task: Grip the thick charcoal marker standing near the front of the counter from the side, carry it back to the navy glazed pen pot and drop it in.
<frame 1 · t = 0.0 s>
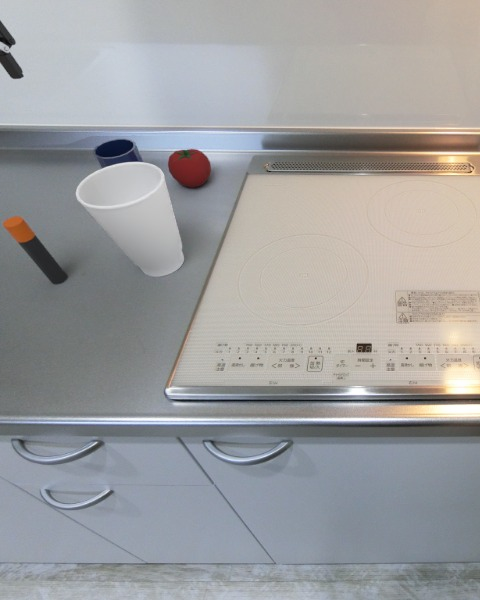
marker: (59, 279, 72), on the counter
pen pot: (132, 183, 91), on the counter
tomato: (195, 182, 92), on the counter
cup: (163, 263, 75), on the counter
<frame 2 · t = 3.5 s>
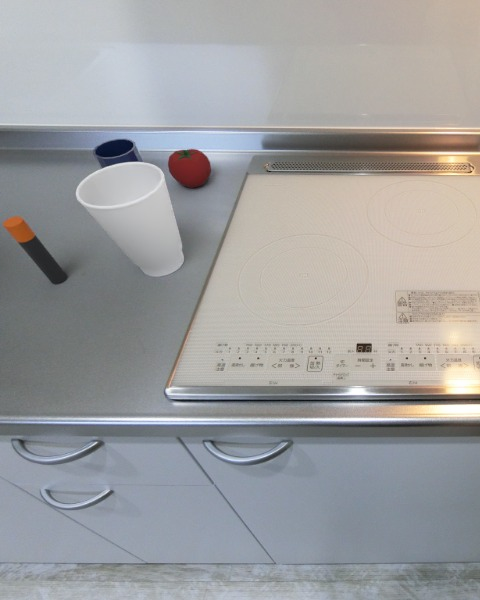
nothing on the counter moved.
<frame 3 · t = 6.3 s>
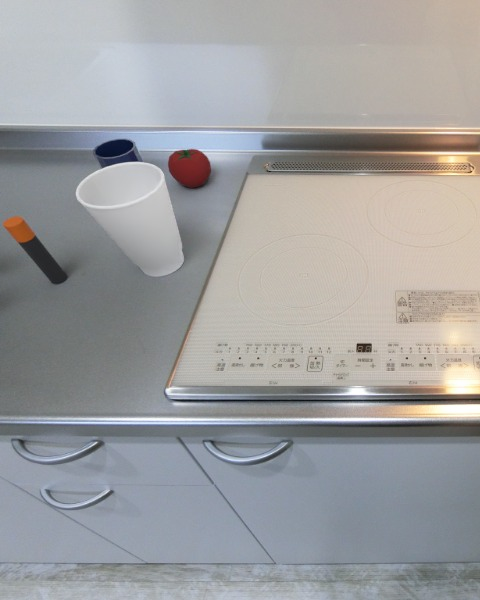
nothing on the counter moved.
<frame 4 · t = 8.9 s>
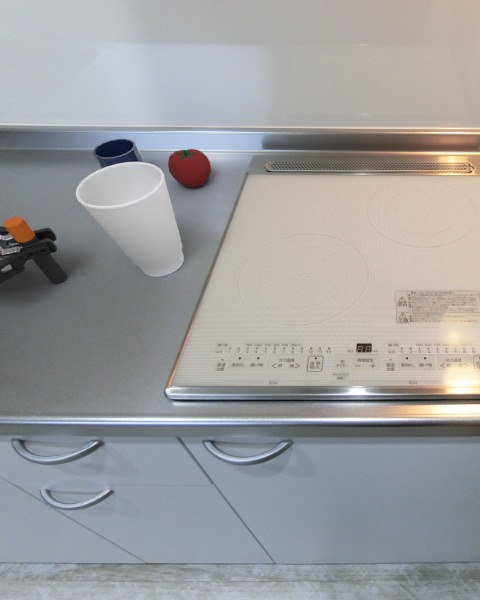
hand: (53, 239, 68), 7 cm above the counter, tool horizontal, fingers closed on marker, 2 cm apart
marker: (59, 279, 72), on the counter, touching gripper
everything else where it was.
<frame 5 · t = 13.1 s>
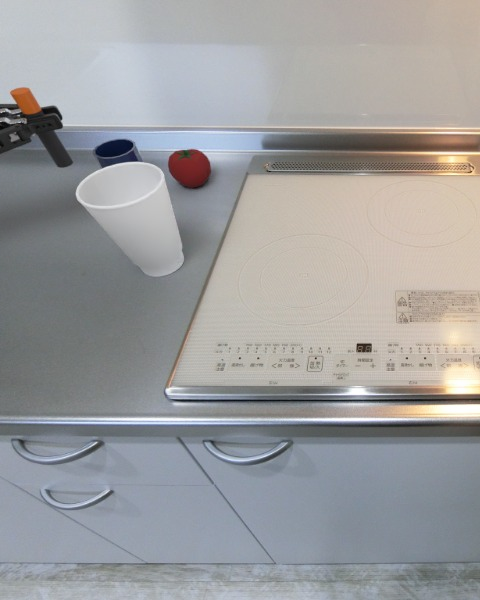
hand: (59, 116, 68), 20 cm above the counter, tool horizontal, fingers closed on marker, 2 cm apart
marker: (65, 163, 73), point 12 cm above the counter, touching gripper
everything else where it was.
when the fingers open (13 cm above the counter, at t = 17.1 s): marker drops 5 cm, resting on pen pot.
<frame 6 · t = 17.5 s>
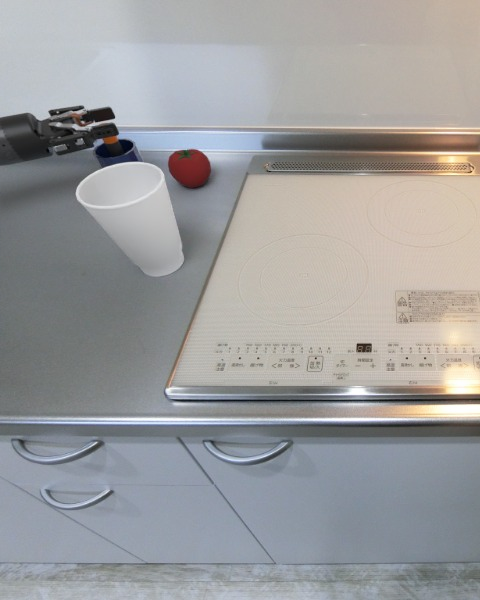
hand: (114, 120, 82), 13 cm above the counter, tool horizontal, fingers open, 6 cm apart
marker: (131, 180, 91), point 1 cm above the counter, touching pen pot
everything else where it was.
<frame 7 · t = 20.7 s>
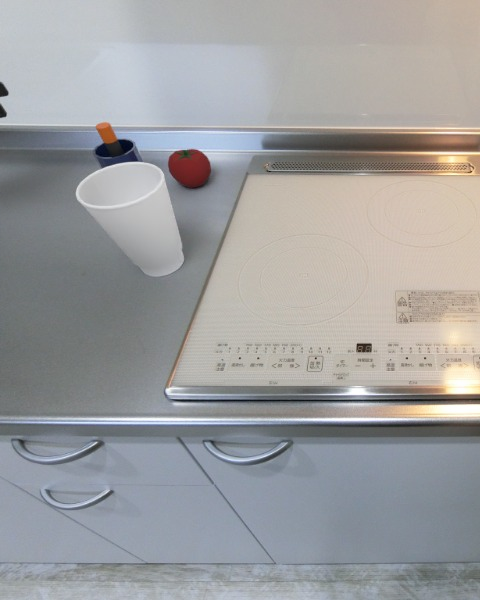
hand: (4, 98, 72), 20 cm above the counter, tool horizontal, fingers open, 8 cm apart
nothing on the counter moved.
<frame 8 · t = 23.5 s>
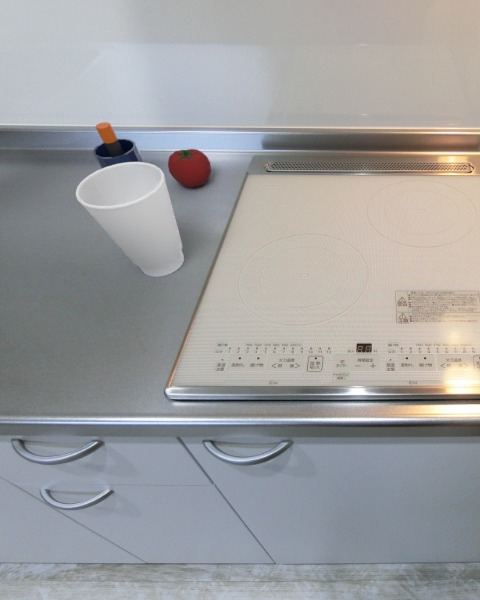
nothing on the counter moved.
at the end: marker 0.1 cm off-centre in the pen pot, point 0.6 cm above the pen pot's base; the gripper is holding nothing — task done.
